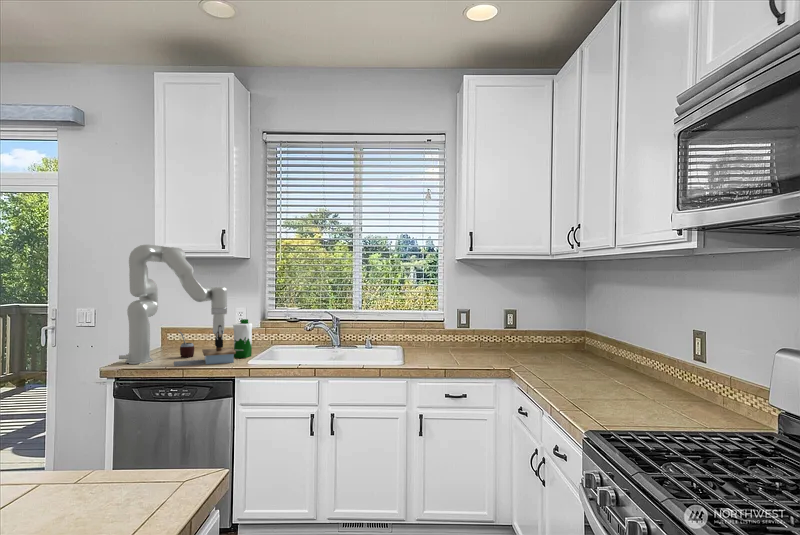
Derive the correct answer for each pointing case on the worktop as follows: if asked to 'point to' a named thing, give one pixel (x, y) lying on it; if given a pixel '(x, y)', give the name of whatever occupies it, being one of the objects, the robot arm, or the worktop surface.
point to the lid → (218, 351)
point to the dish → (219, 359)
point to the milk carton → (243, 339)
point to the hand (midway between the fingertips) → (219, 346)
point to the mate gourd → (186, 349)
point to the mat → (189, 362)
